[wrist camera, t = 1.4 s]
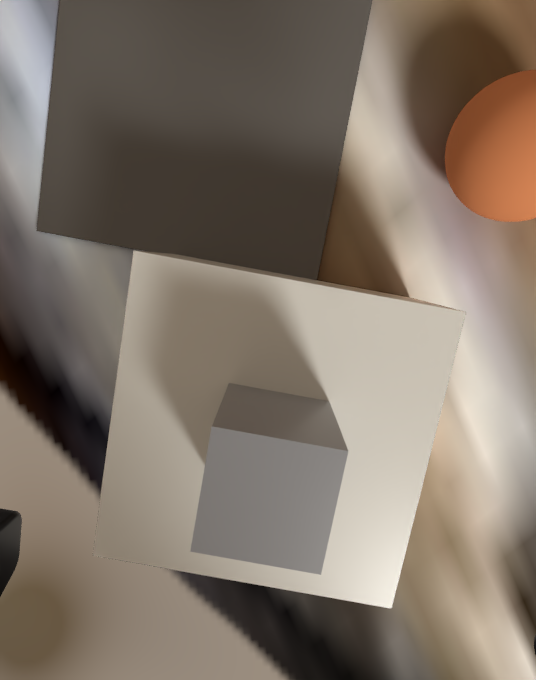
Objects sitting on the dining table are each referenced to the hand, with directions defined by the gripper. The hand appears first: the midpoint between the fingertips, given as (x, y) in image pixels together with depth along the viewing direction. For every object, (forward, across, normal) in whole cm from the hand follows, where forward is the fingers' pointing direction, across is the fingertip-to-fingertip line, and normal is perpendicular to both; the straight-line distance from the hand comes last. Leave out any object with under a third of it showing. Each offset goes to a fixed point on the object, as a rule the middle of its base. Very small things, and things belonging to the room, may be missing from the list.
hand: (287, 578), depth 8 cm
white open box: (+13, 0, +2) cm, 13 cm away
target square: (+14, +5, -10) cm, 18 cm away
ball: (+11, -7, -10) cm, 17 cm away
